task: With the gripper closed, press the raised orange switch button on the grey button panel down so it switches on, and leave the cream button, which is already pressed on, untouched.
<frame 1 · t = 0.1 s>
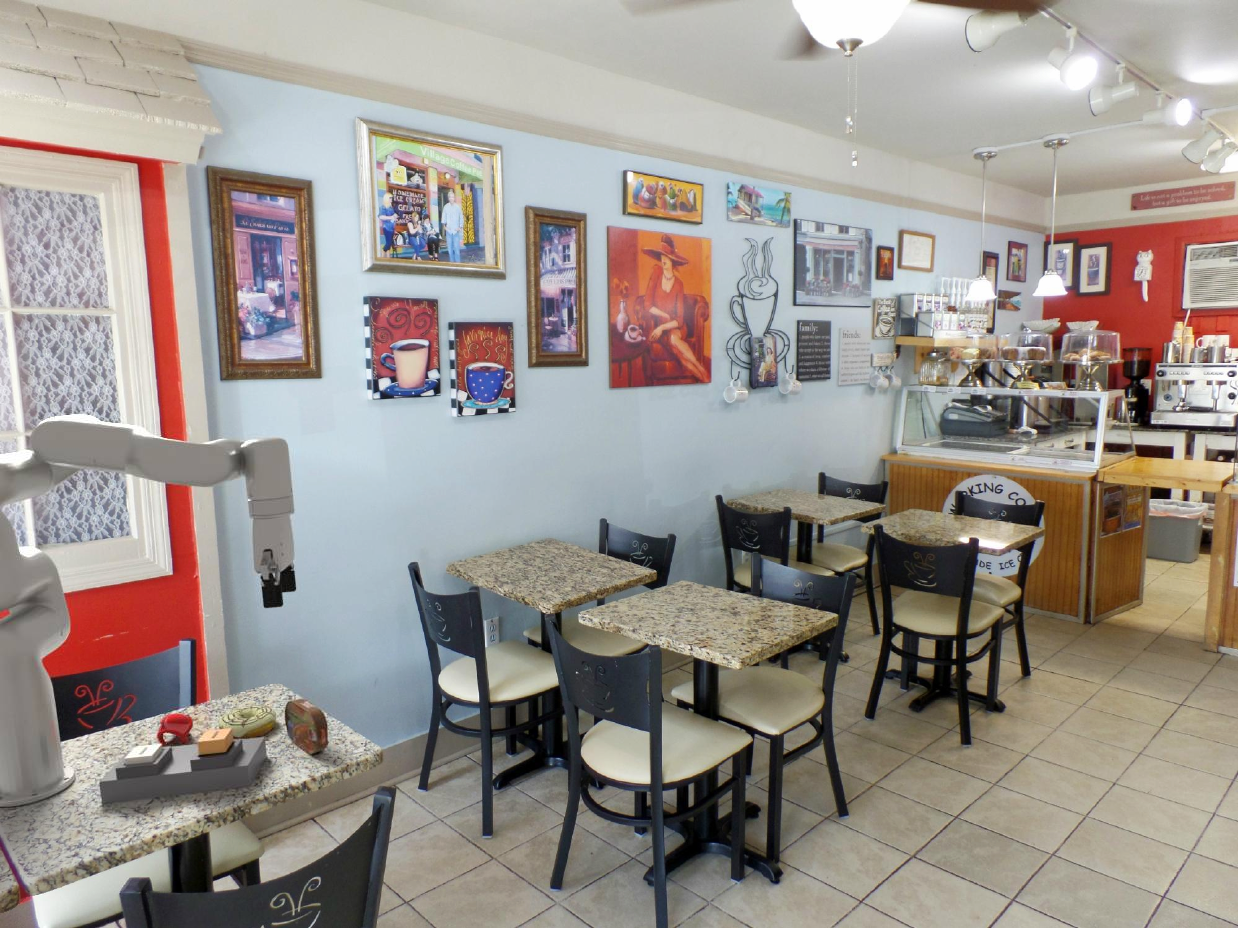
hand: (280, 599, 146), 31 cm above the table, tool pointing down, fingers open, 9 cm apart
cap: (177, 742, 160), on the table
tin: (308, 746, 156), on the table
orange button: (215, 740, 143), point 8 cm above the table, slide at 0.0 cm
grey button panel: (188, 778, 145), on the table
cream button: (144, 756, 141), point 6 cm above the table, slide at 1.6 cm
decorated donut: (249, 731, 164), on the table
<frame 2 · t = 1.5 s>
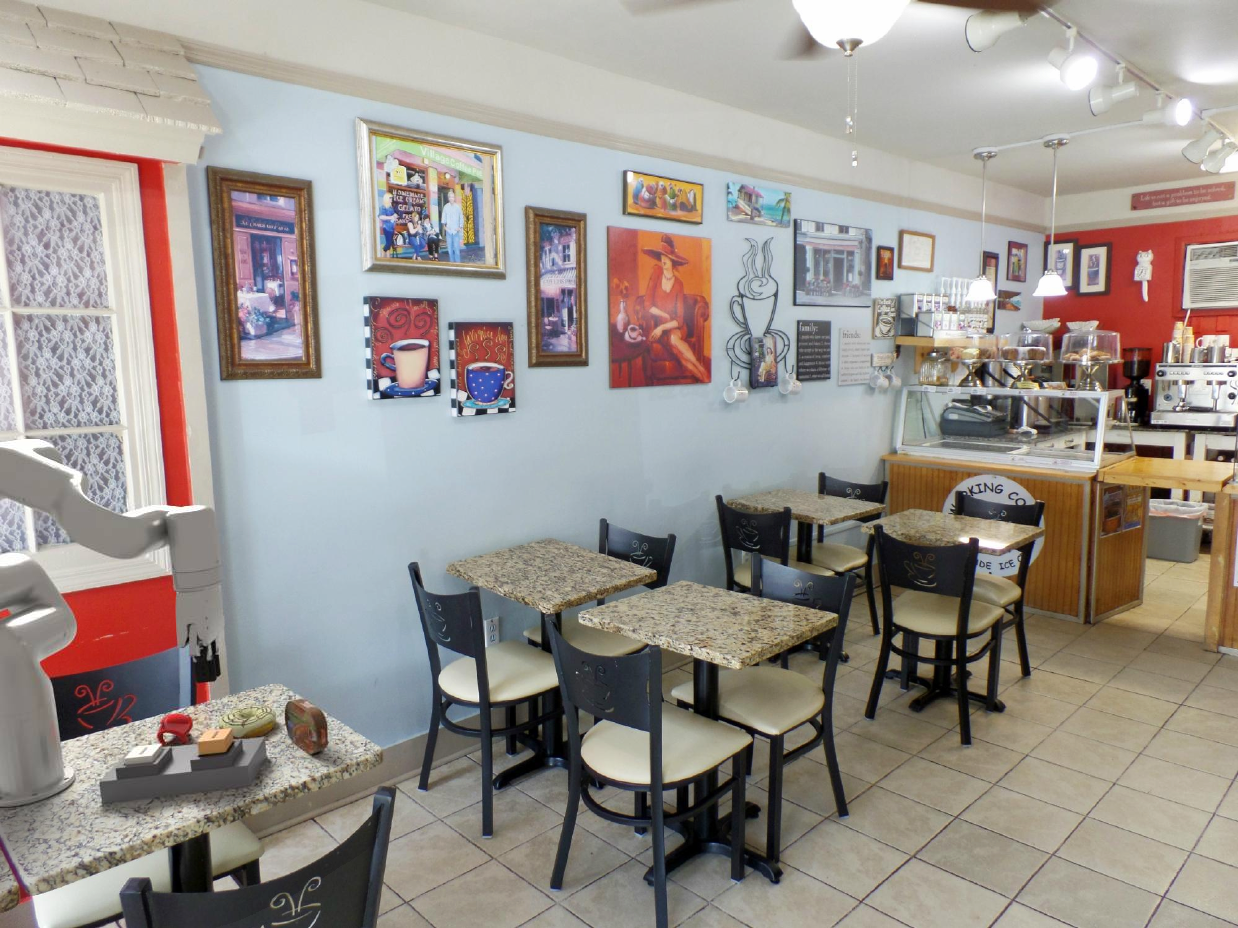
hand: (208, 678, 141), 19 cm above the table, tool pointing down, fingers closed
nothing on the table moved.
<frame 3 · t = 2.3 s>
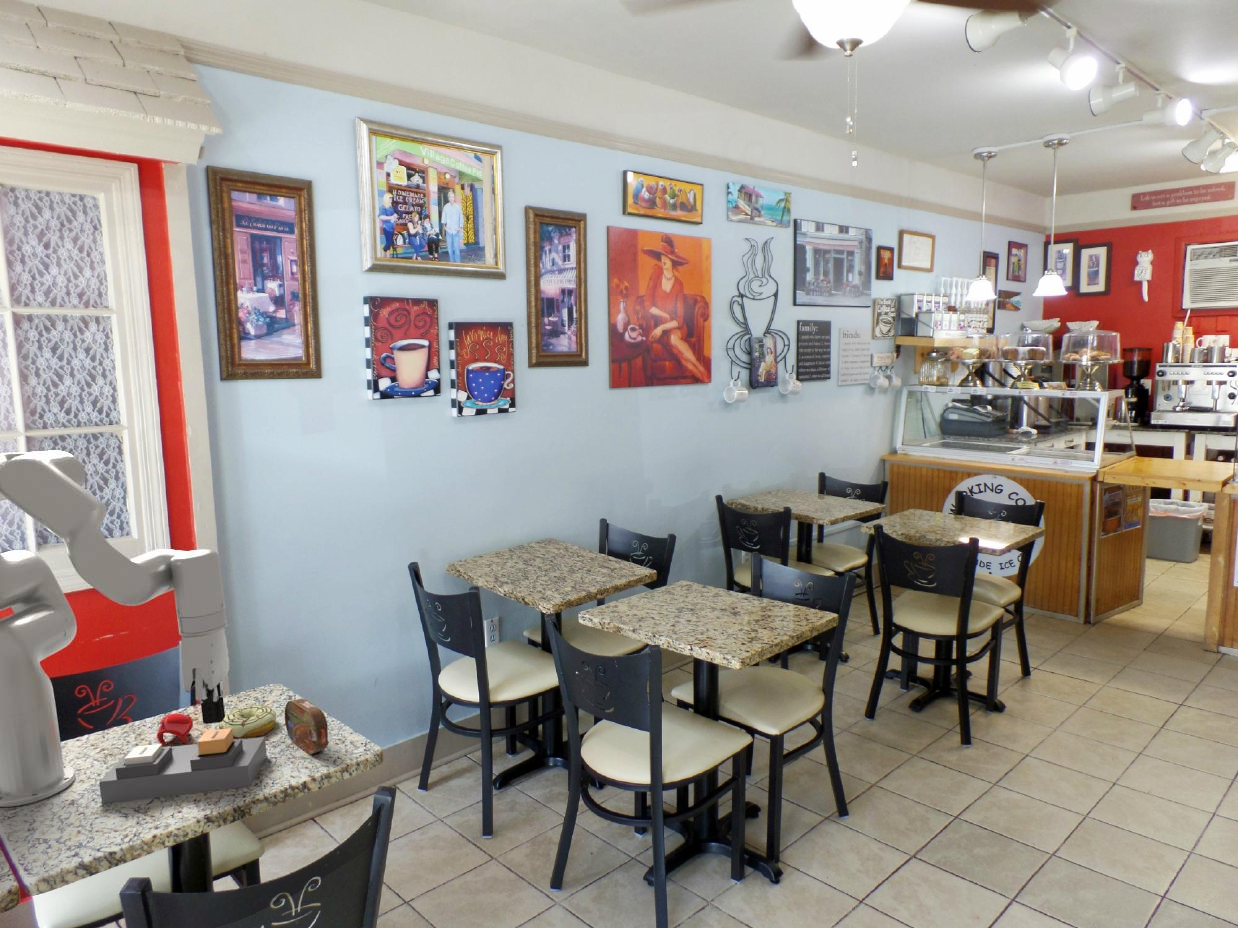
hand: (214, 720, 142), 11 cm above the table, tool pointing down, fingers closed
nothing on the table moved.
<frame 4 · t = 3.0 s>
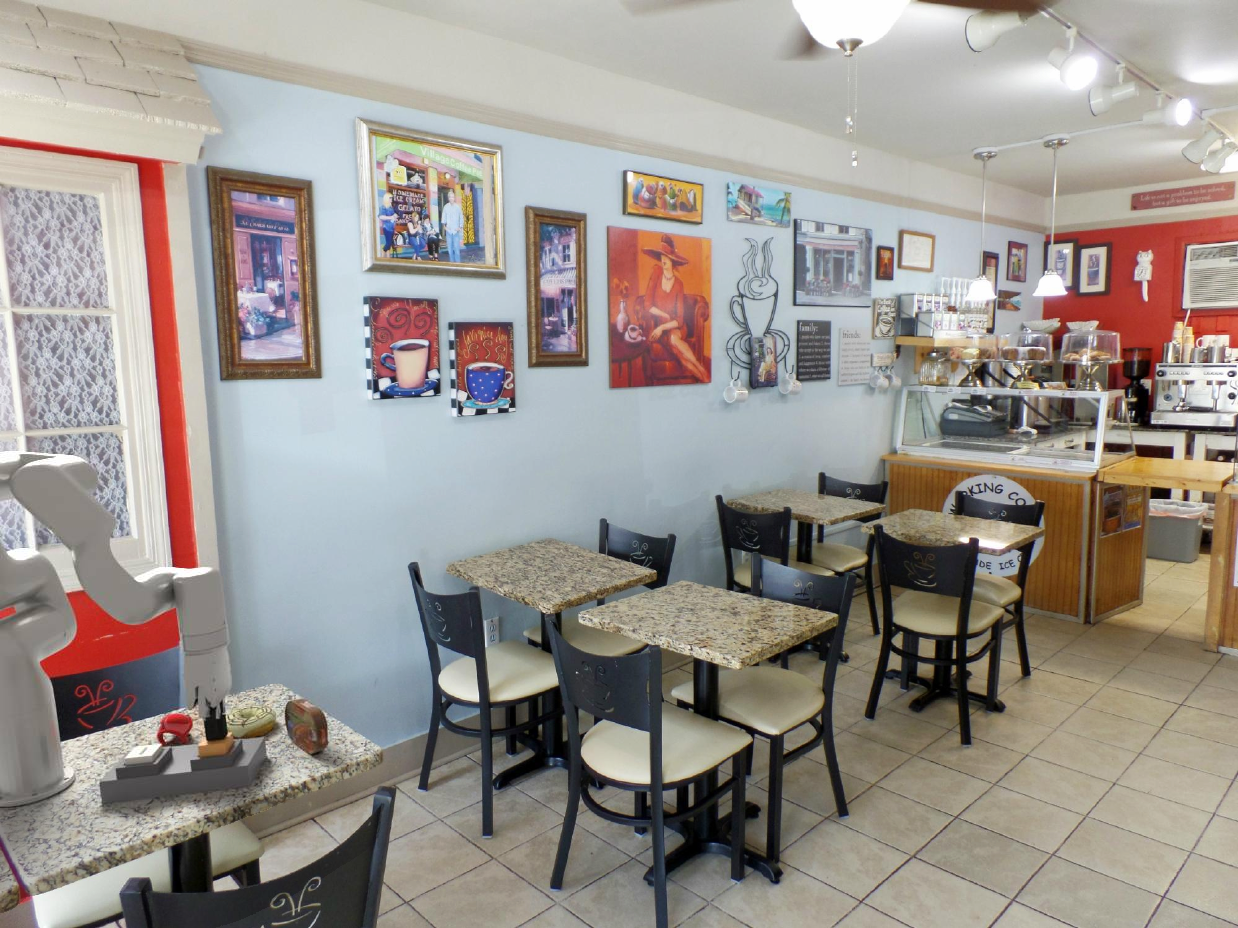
hand: (217, 737, 143), 8 cm above the table, tool pointing down, fingers closed
orange button: (216, 744, 143), point 7 cm above the table, slide at 0.8 cm, touching gripper
everything else where it was.
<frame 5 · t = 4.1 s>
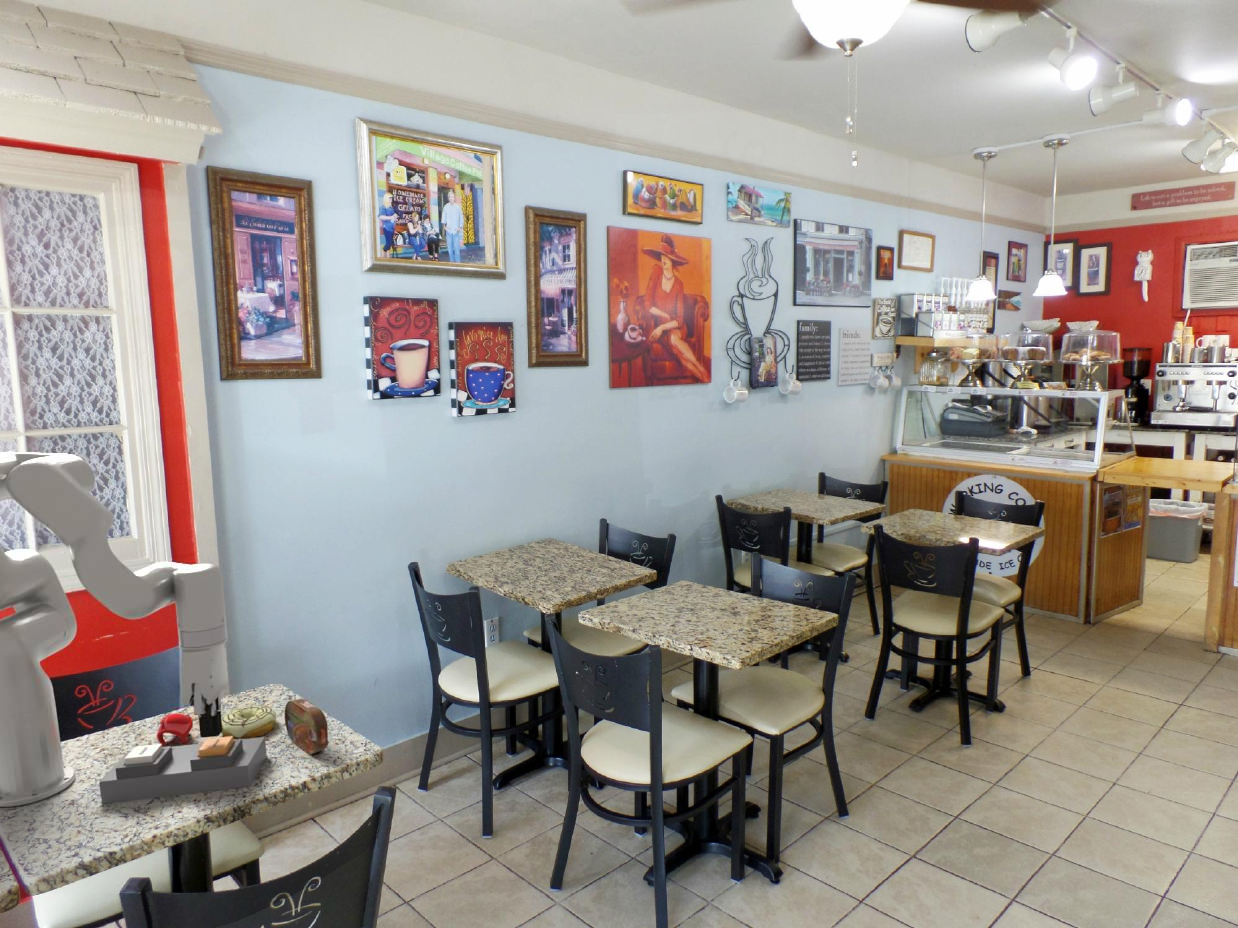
hand: (211, 734, 143), 9 cm above the table, tool pointing down, fingers closed
orange button: (216, 748, 143), point 6 cm above the table, slide at 1.5 cm
everything else where it was.
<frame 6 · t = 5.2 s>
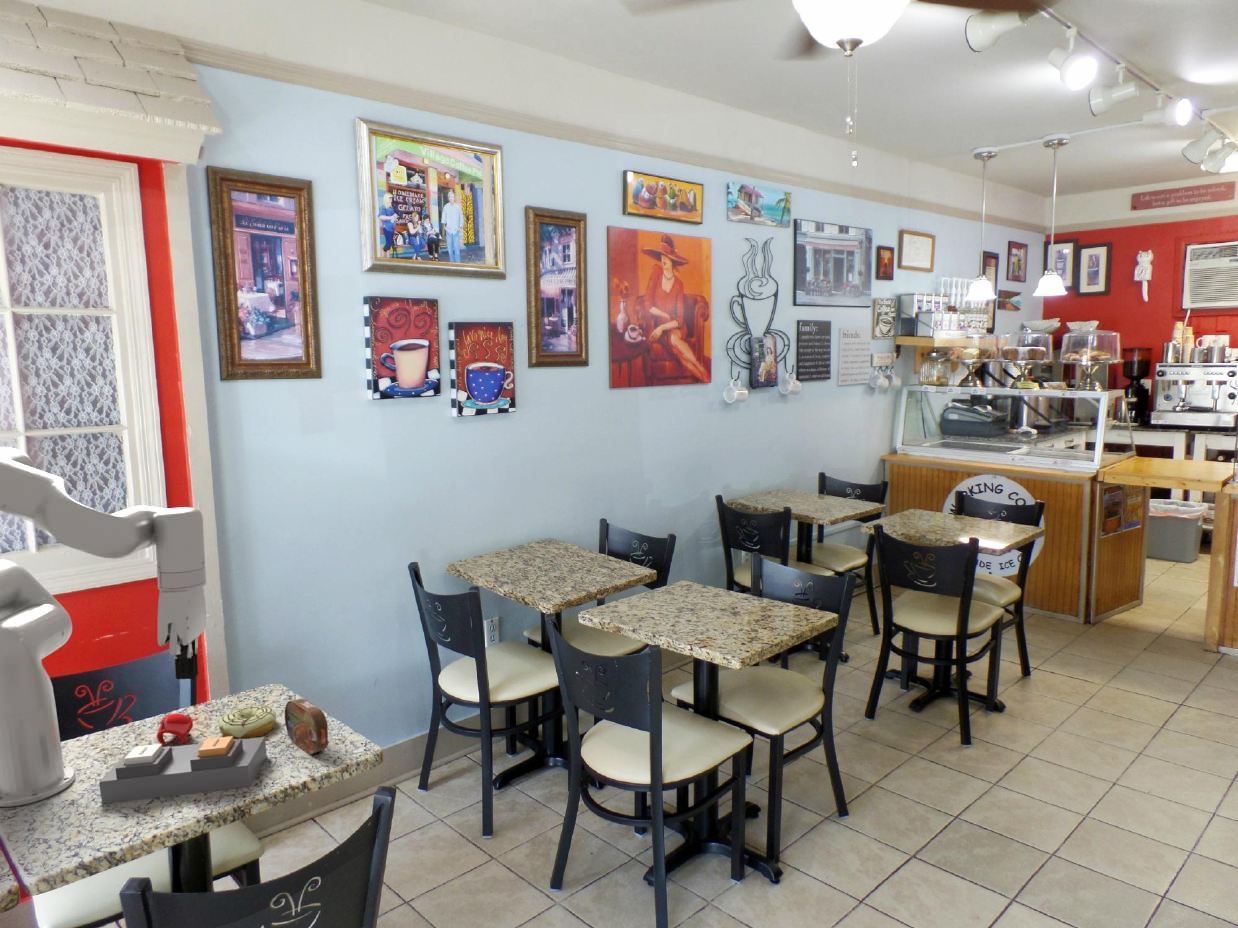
hand: (187, 676, 144), 18 cm above the table, tool pointing down, fingers closed
nothing on the table moved.
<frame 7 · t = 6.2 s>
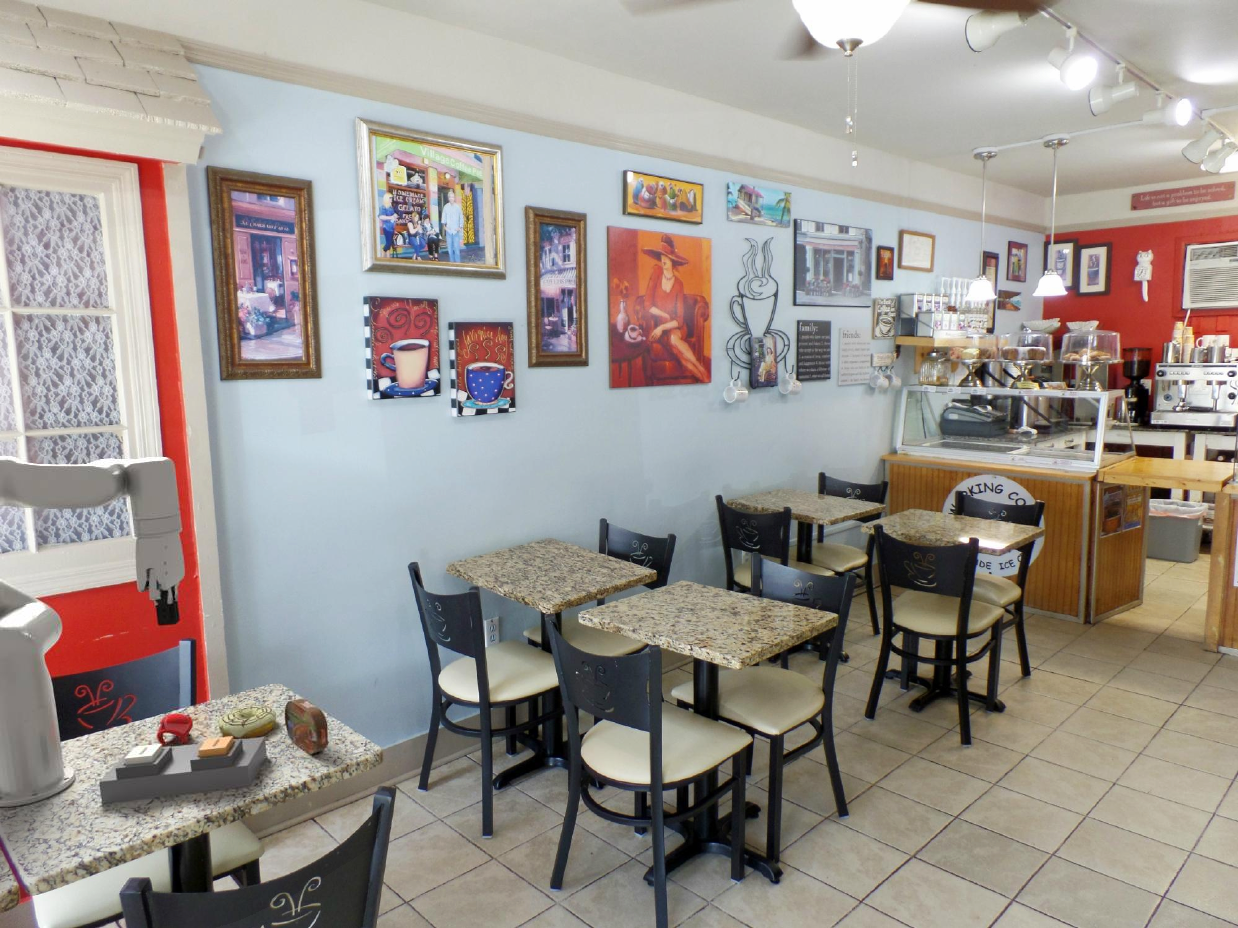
hand: (169, 623, 148), 27 cm above the table, tool pointing down, fingers closed
nothing on the table moved.
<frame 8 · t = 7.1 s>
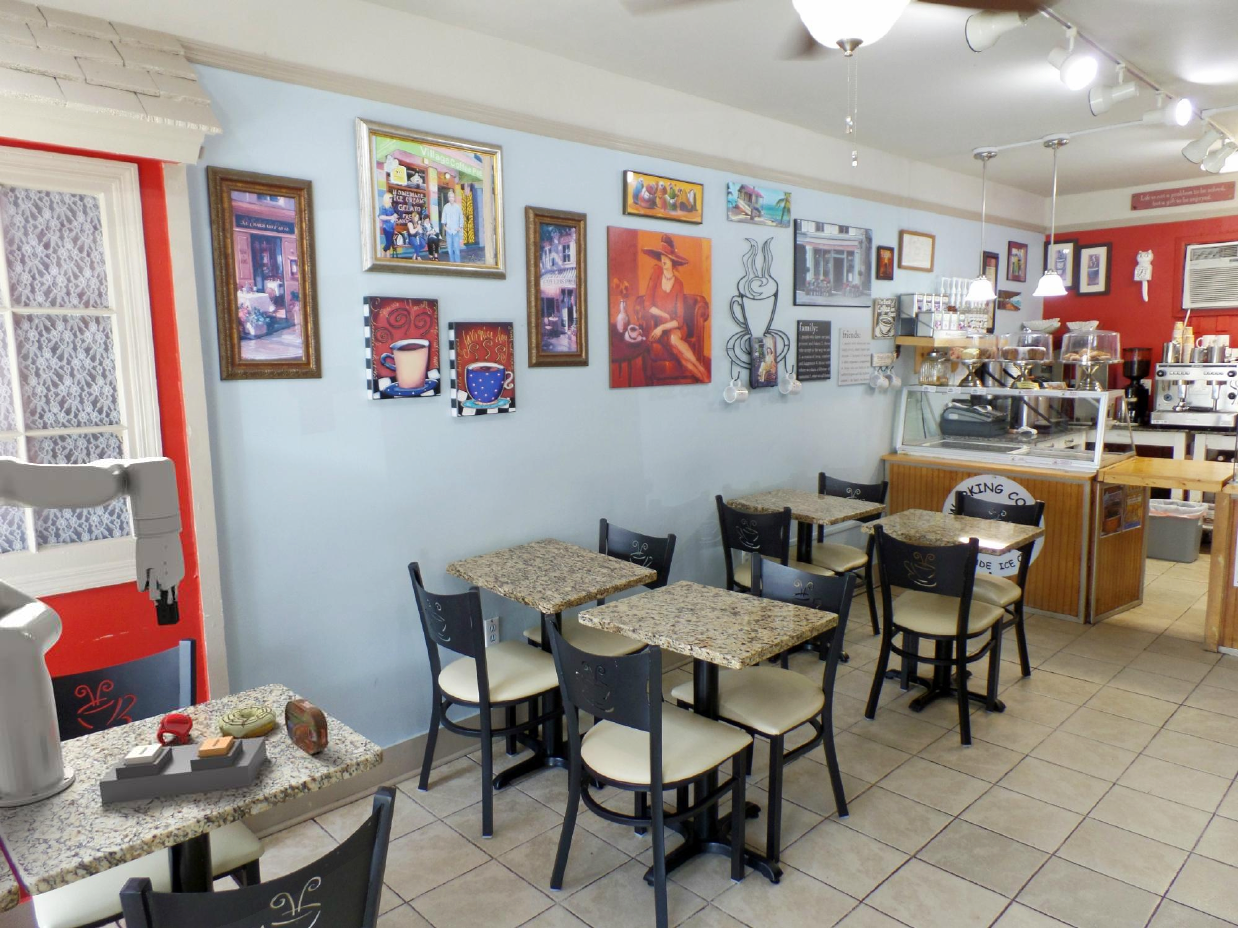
hand: (169, 623, 148), 27 cm above the table, tool pointing down, fingers closed
nothing on the table moved.
at the end: orange button slide at 1.5 cm; cream button slide at 1.6 cm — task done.
